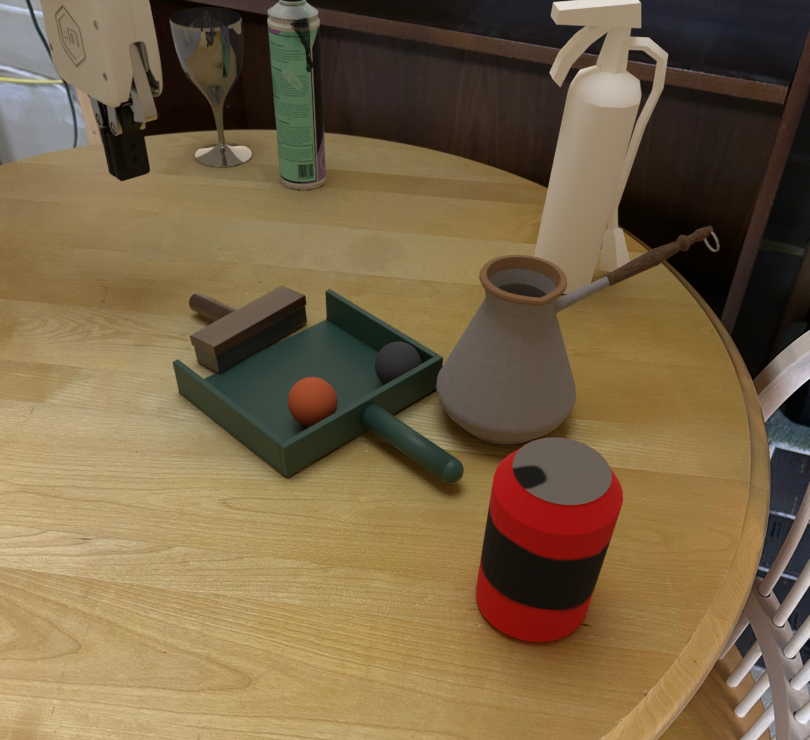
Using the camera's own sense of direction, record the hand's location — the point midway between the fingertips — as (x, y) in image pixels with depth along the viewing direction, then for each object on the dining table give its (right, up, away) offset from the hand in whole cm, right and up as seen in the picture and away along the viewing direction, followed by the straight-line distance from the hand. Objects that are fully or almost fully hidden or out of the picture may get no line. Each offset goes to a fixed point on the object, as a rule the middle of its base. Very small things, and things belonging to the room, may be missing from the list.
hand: (130, 173), depth 72 cm
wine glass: (+2, +15, +29) cm, 33 cm away
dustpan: (+20, -23, -5) cm, 31 cm away
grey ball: (+24, -18, -4) cm, 30 cm away
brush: (+9, -13, +3) cm, 16 cm away
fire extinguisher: (+42, -6, +11) cm, 44 cm away
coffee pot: (+38, -22, -3) cm, 43 cm away
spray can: (+12, +10, +25) cm, 30 cm away
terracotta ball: (+17, -22, -7) cm, 29 cm away
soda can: (+33, -37, -17) cm, 53 cm away
